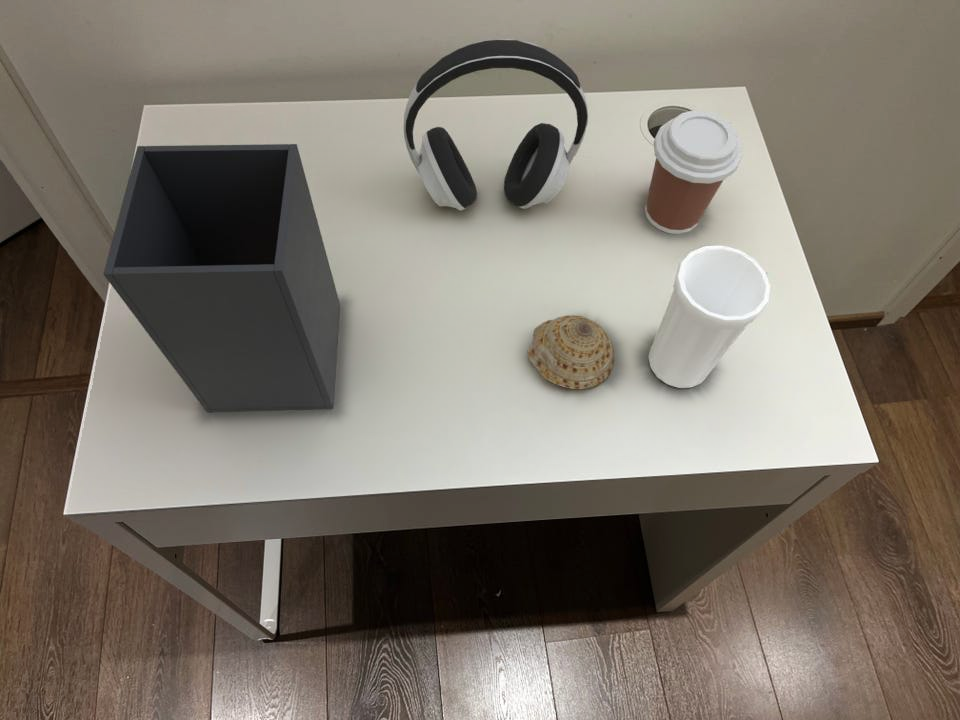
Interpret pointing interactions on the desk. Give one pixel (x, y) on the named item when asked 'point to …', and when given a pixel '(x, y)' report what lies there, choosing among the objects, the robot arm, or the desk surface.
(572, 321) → the seashell
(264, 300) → the wastebasket
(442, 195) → the headphones
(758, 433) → the desk surface
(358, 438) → the desk surface
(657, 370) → the cup
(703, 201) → the coffee cup
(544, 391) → the desk surface
